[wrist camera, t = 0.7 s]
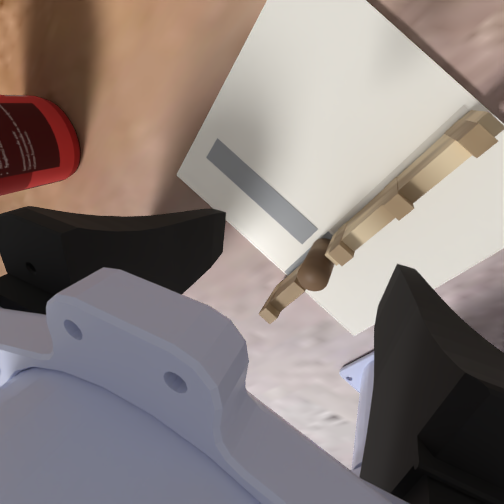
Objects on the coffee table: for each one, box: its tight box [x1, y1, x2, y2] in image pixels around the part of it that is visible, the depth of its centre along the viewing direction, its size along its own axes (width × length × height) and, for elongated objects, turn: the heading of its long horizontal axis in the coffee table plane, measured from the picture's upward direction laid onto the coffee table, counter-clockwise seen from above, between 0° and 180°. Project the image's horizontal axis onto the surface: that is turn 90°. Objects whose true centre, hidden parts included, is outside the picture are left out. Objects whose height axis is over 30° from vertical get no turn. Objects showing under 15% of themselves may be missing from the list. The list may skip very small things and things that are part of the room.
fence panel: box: [325, 110, 504, 266], centre depth 16 cm, size 10×1×4 cm, turn 144°
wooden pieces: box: [259, 238, 334, 324], centre depth 21 cm, size 2×6×5 cm, turn 144°
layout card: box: [177, 0, 504, 336], centre depth 20 cm, size 20×16×1 cm
